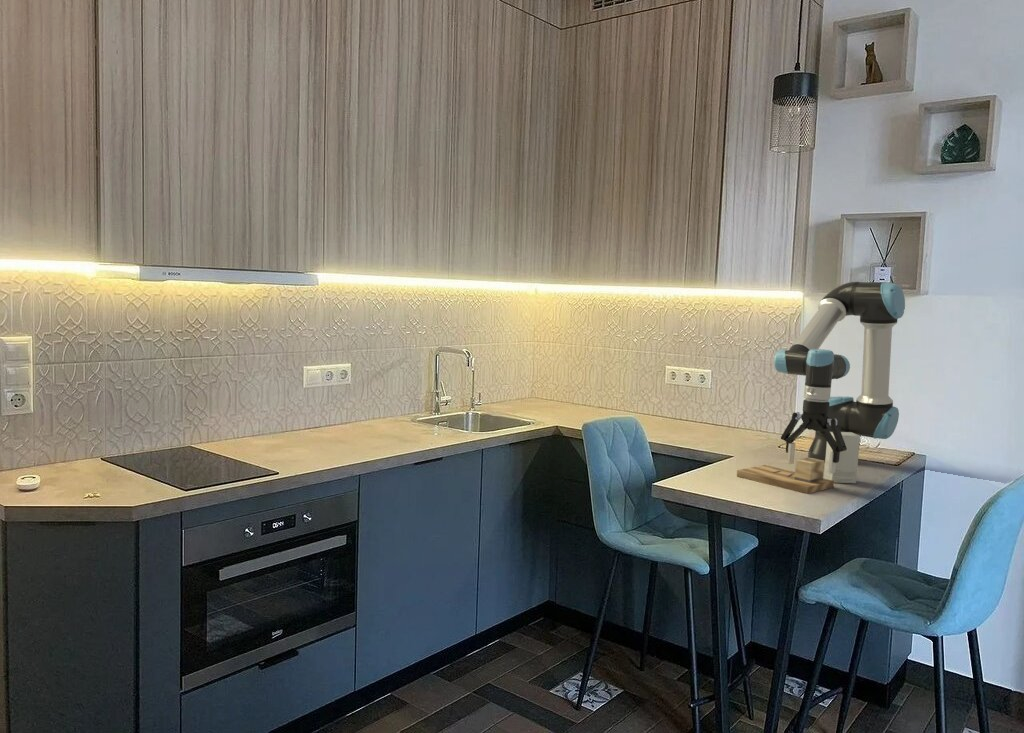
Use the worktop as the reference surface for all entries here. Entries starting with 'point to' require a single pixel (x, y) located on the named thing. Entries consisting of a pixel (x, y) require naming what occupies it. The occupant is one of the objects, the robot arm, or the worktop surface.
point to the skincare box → (844, 460)
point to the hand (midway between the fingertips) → (810, 468)
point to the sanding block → (809, 470)
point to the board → (783, 479)
